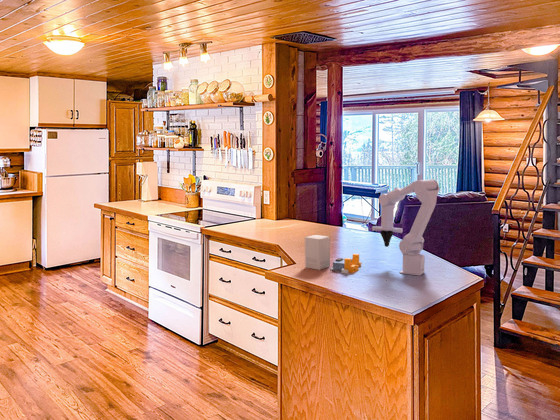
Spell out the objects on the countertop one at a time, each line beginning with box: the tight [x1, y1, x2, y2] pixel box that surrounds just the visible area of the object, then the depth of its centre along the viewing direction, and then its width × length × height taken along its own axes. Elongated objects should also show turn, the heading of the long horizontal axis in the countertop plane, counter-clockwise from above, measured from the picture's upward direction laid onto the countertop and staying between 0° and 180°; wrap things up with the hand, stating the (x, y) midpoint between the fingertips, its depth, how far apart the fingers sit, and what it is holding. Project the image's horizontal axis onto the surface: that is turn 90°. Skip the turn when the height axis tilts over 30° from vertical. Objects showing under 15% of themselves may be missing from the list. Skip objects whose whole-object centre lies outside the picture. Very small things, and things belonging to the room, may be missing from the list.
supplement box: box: [304, 234, 331, 271], centre depth 234 cm, size 9×9×15 cm
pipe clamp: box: [344, 253, 360, 274], centre depth 229 cm, size 12×4×6 cm, turn 149°
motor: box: [329, 257, 363, 275], centre depth 231 cm, size 10×17×4 cm, turn 149°
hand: (386, 246), depth 236 cm, fingers closed
